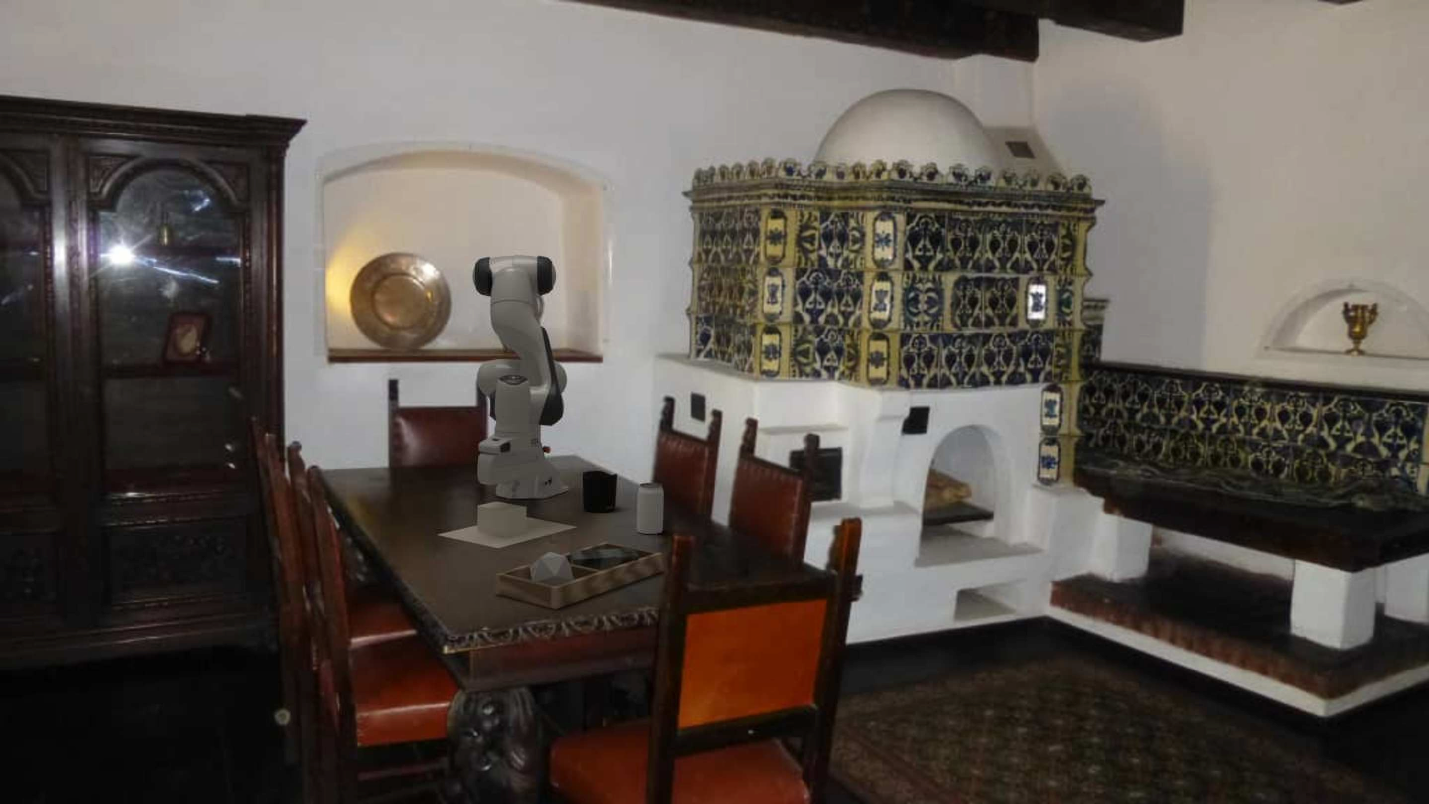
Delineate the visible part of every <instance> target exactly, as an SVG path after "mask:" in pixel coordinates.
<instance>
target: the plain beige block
mask: <svg viewBox="0 0 1429 804" xmlns="http://www.w3.org/2000/svg"><path fill="white" fill-rule="evenodd" d="M476 507H477V511H476V512H477V519H476V520H477V522H476V524H477V532H481V533H485V534H490V535H495V536H499V537H504V538H510V537H514V536H518V535H522V534H526V517H527V506H523V505H517V504H512V503H506V502H500V501H493V502H488V503H484V504H479V505H477V506H476Z"/></svg>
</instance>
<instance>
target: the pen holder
mask: <svg viewBox="0 0 1429 804" xmlns="http://www.w3.org/2000/svg"><path fill="white" fill-rule="evenodd" d="M617 484H618V473H614V474H610V473H608V472H606V471H604V470H588V471H585V472H582V502H583V503H582V504H583V505H582V507H583V508H582V509H583V510H584V511H585V512H588V513H589V512H590V513H594V514H596V513H597V514H599V513H601V514H604V513H605V514H606V513H611V512H614V511H615V510H616V503H617Z"/></svg>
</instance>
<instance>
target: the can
mask: <svg viewBox="0 0 1429 804" xmlns="http://www.w3.org/2000/svg"><path fill="white" fill-rule="evenodd" d="M664 497H665V496H664V489H663V485H662V483H658V482H644V483H643V482H642V483H640V484H639V488H638V490H637V504H636V507H637V508H636V509H637V510H636V512H637V513H636V531H637V533H638V532H639V533H638V534H642V535H646V534H655V535H658V534H657V533H660V534H662V532H663V530H664V529H663V527H664V526H663V523H664Z"/></svg>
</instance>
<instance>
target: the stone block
mask: <svg viewBox="0 0 1429 804" xmlns="http://www.w3.org/2000/svg"><path fill="white" fill-rule="evenodd" d="M576 550H577V551H576ZM576 550H570V551H569V552H570V564H574V565H579V566H583V567H588V568H592V569H597V570H602V571H603V570H606V569H609V568H612V567H615V566H618V565H622V564H625V563H628V562H631V561H636V560H638V555H637V553H636V552H635V551H634V550H633V548H619V549H602V550H596V549H594V548H591V550H579V549H576Z"/></svg>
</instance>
